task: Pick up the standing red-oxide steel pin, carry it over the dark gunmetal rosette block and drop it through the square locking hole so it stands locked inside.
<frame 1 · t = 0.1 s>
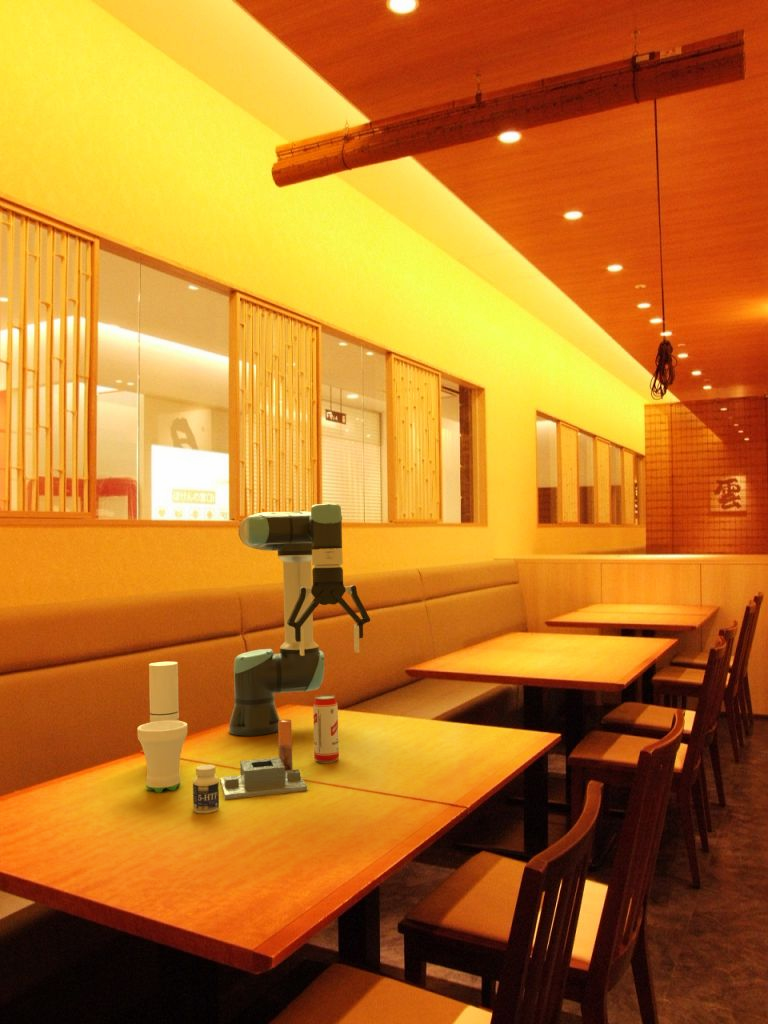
hand: (329, 653, 204), 28 cm above the table, fingers open, 13 cm apart
beer can: (326, 761, 211), on the table
wedge pin: (285, 770, 202), on the table
pill bottle: (206, 810, 174), on the table
rosette block: (262, 786, 190), on the table
cylindrical container: (165, 762, 214), on the table
cup: (163, 789, 191), on the table
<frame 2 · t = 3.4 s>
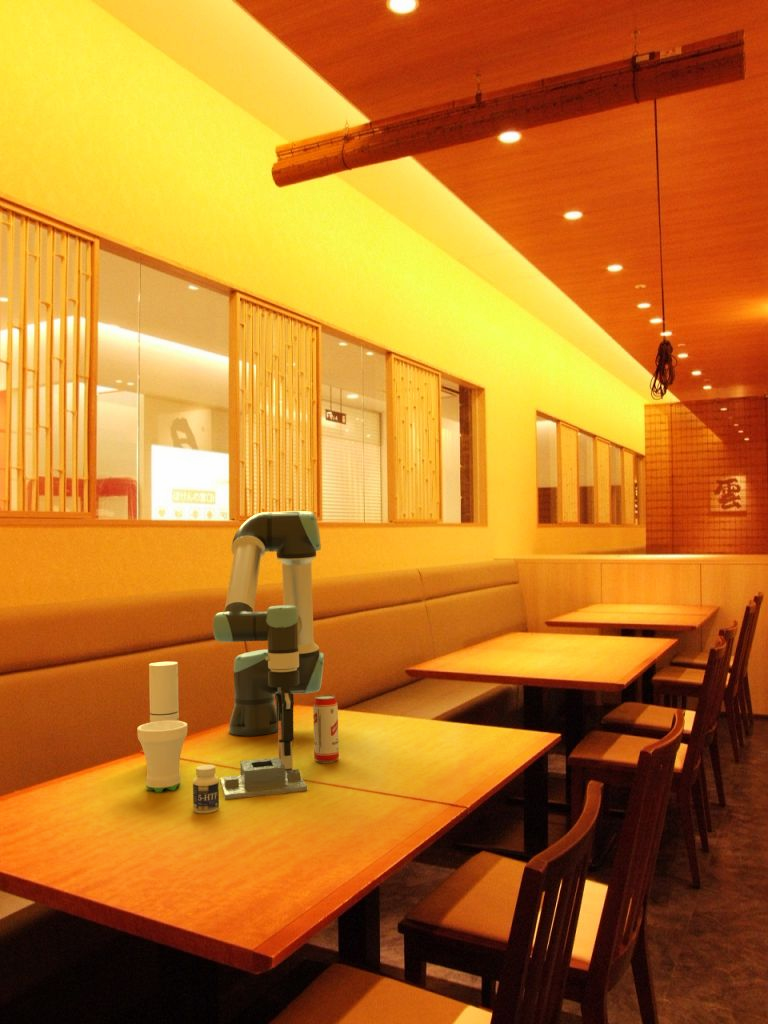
hand: (285, 766, 202), 1 cm above the table, fingers closed on wedge pin, 3 cm apart
wedge pin: (285, 770, 202), on the table, touching gripper
everything else where it was.
when the fingers open (6 cm above the table, at t = 8.1 s): wedge pin drops 4 cm, resting in rosette block.
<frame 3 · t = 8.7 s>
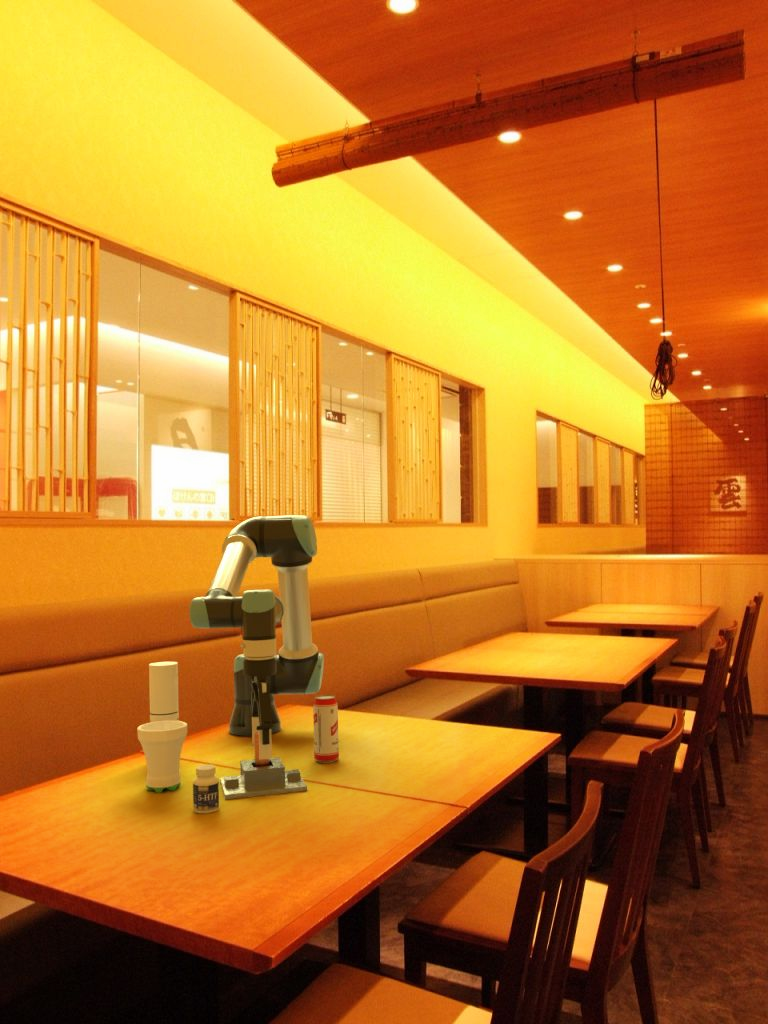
hand: (261, 751, 190), 8 cm above the table, fingers open, 13 cm apart
wedge pin: (262, 786, 190), resting in rosette block
everything else where it was.
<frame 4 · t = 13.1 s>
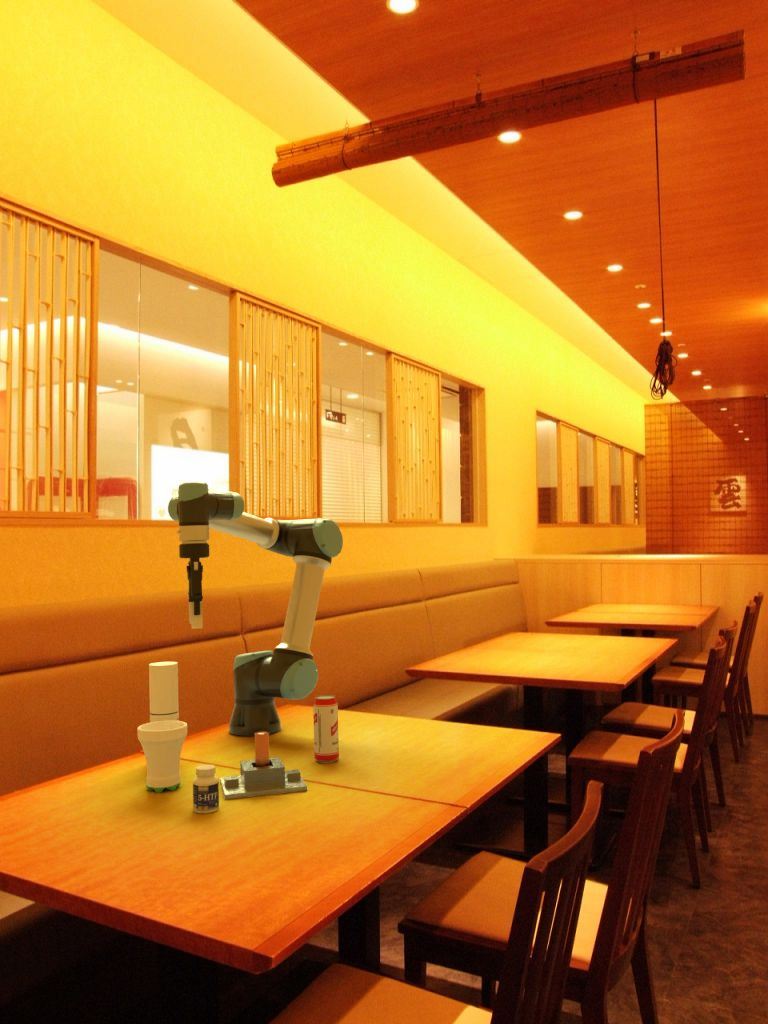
hand: (195, 626, 213), 35 cm above the table, fingers open, 13 cm apart
nothing on the table moved.
at the end: wedge pin 0.1 cm off-centre on the rosette block, point 0.0 cm above the rosette block's base; wedge pin tilted 0°; the gripper is holding nothing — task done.
